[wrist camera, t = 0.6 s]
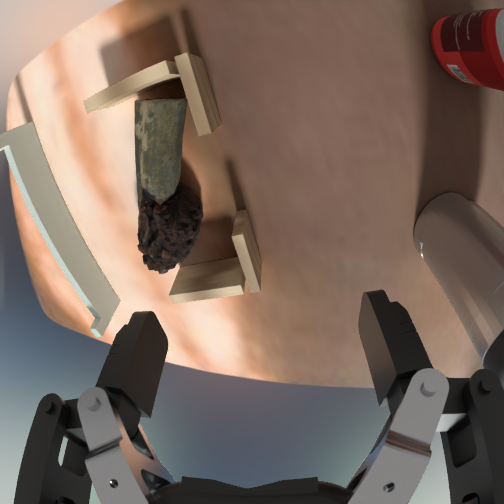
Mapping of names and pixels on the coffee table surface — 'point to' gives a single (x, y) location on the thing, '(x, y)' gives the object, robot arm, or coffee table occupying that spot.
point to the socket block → (206, 121)
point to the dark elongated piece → (163, 185)
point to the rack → (58, 223)
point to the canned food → (472, 47)
